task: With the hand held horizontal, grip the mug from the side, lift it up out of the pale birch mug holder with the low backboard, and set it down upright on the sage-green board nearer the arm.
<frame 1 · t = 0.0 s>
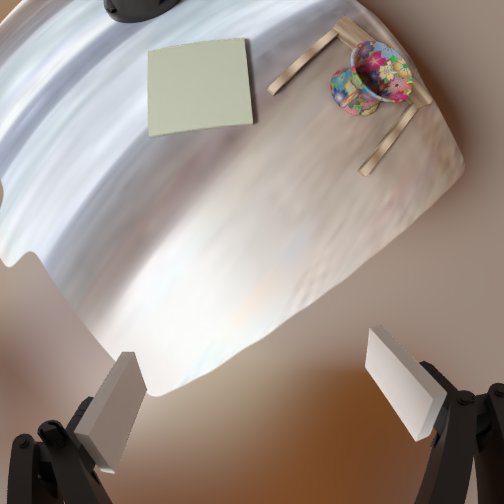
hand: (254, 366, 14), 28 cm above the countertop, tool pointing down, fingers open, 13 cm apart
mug: (348, 97, 38), on the countertop
mug holder: (348, 97, 37), on the countertop
target board: (197, 84, 36), on the countertop
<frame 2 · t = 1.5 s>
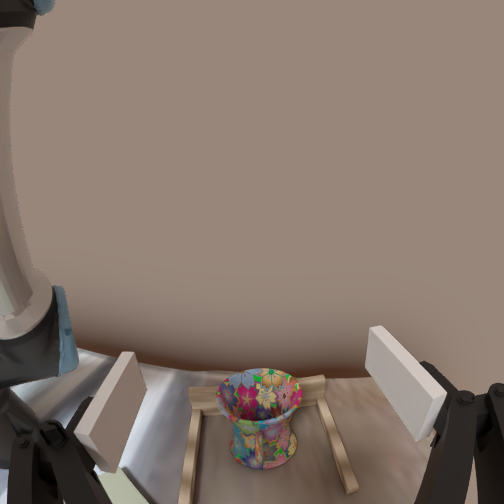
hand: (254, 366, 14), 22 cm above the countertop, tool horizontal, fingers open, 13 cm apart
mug: (263, 456, 29), on the countertop
mug holder: (263, 455, 28), on the countertop
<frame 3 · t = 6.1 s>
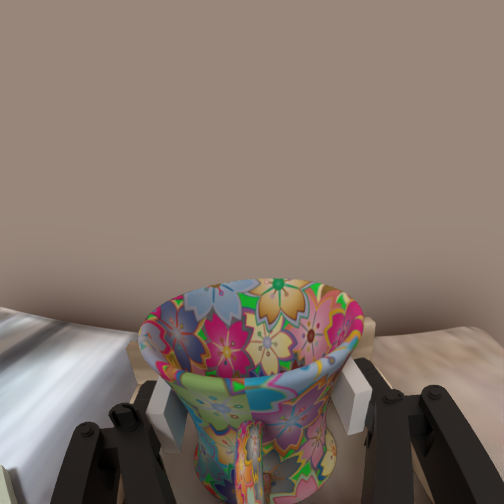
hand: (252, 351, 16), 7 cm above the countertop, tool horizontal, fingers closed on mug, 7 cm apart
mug: (266, 478, 12), on the countertop, touching gripper
mug holder: (266, 477, 12), on the countertop
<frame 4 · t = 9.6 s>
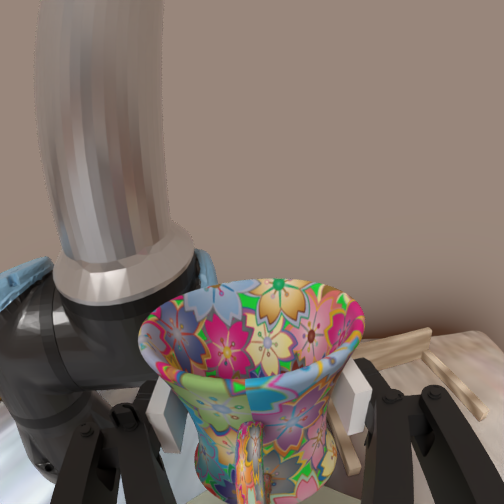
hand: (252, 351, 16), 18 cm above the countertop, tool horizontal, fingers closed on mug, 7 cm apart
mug: (266, 479, 12), point 11 cm above the countertop, touching gripper
mug holder: (399, 405, 28), on the countertop
when the fingers open (9 cm above the countertop, at t = 12.7 s): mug moves 4 cm, resting on target board.
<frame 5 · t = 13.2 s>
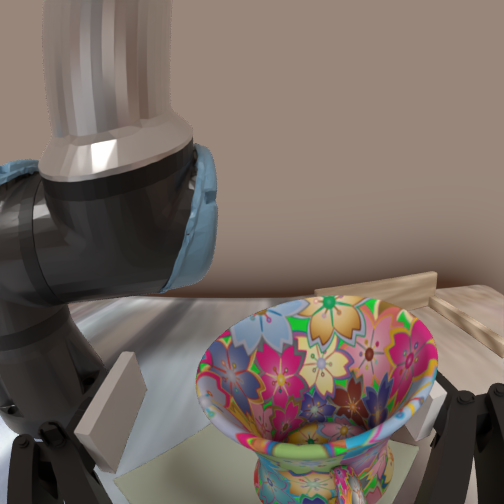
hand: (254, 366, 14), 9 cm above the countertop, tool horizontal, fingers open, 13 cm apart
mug: (327, 492, 11), point 1 cm above the countertop, touching gripper, target board
mug holder: (413, 344, 27), on the countertop
target board: (269, 493, 13), on the countertop
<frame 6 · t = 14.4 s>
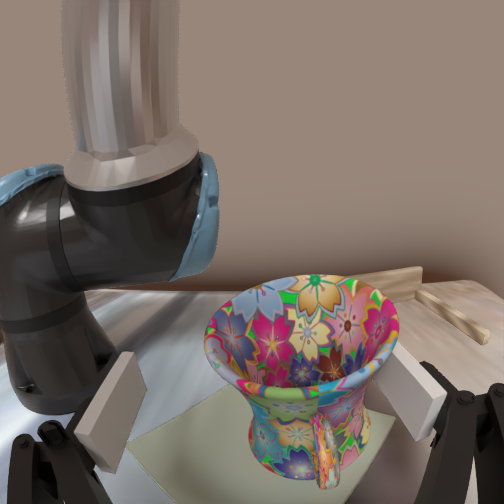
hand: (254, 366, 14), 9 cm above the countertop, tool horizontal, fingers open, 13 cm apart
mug: (312, 450, 15), point 1 cm above the countertop, touching gripper, target board
mug holder: (396, 332, 31), on the countertop
target board: (262, 453, 17), on the countertop
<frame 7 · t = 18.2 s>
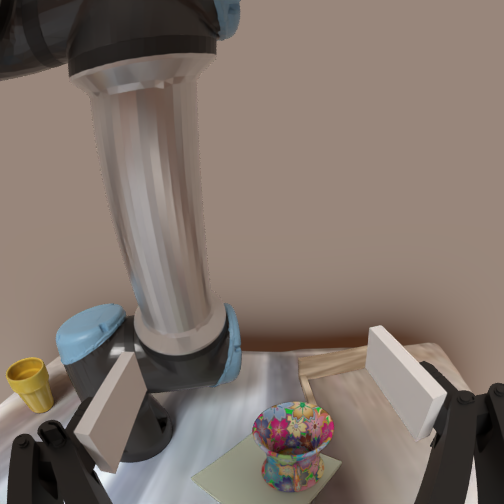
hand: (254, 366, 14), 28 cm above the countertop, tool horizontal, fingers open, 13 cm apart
plant pot: (42, 405, 41), on the countertop
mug: (293, 479, 28), point 1 cm above the countertop, touching target board
mug holder: (359, 397, 44), on the countertop
target board: (267, 478, 29), on the countertop
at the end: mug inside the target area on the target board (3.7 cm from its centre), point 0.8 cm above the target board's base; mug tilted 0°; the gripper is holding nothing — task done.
